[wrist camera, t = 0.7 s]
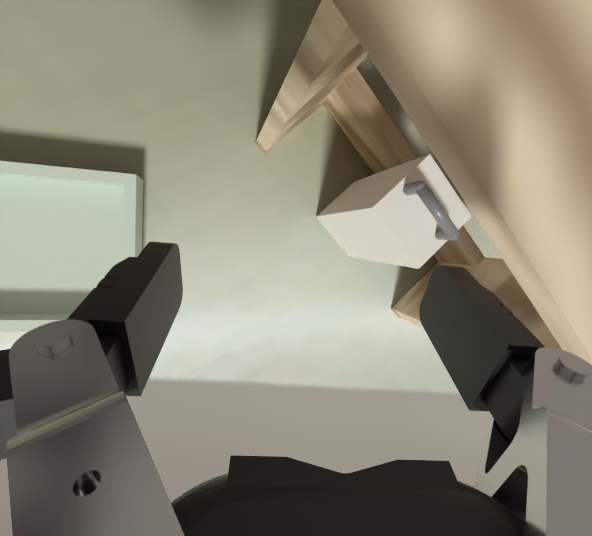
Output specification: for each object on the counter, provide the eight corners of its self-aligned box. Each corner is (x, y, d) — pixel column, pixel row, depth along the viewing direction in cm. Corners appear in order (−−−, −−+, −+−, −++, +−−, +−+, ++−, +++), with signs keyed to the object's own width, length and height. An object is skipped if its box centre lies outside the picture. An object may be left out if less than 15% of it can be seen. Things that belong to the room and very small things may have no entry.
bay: (397, 316, 33) (633, 423, 14) (255, 142, 28) (340, -40, 9) (451, 262, 34) (738, 297, 15) (324, 83, 29) (526, -189, 10)
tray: (-34, 162, 23) (-63, 154, 21) (143, 179, 26) (136, 174, 23) (-29, 322, 24) (-56, 332, 22) (140, 321, 27) (133, 330, 25)
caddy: (348, 256, 31) (435, 271, 19) (315, 216, 30) (385, 205, 18) (385, 222, 32) (491, 215, 19) (354, 181, 30) (447, 147, 18)
